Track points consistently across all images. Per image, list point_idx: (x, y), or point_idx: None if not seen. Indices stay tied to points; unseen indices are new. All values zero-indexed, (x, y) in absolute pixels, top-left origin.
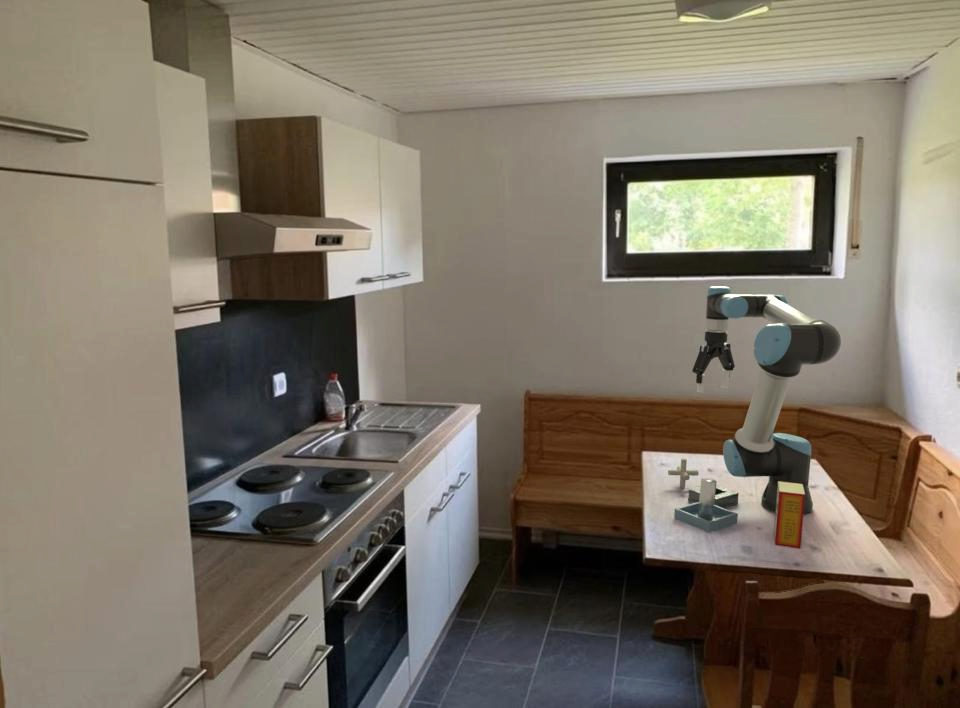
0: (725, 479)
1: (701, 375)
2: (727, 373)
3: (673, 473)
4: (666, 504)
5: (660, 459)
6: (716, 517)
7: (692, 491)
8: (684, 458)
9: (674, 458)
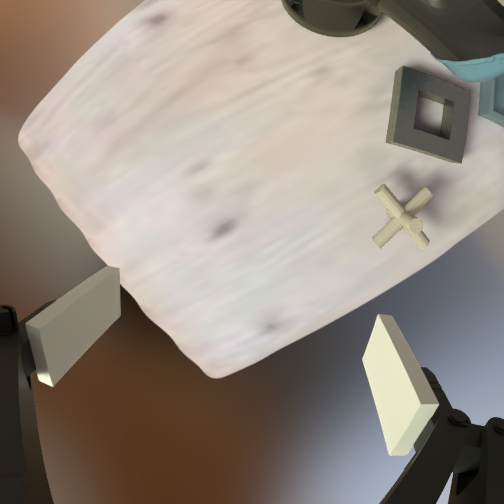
0: (261, 164)
1: (436, 411)
2: (55, 324)
3: (423, 232)
4: (495, 183)
5: (241, 345)
6: (497, 78)
7: (462, 153)
8: (411, 227)
9: (209, 329)
